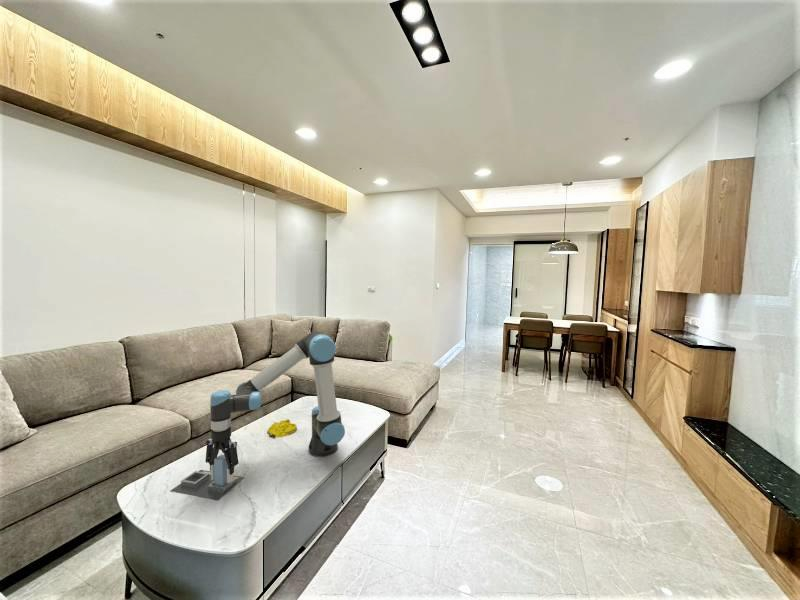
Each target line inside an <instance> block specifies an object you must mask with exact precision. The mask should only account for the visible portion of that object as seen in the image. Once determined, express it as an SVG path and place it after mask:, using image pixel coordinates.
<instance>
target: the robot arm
mask: <svg viewBox="0 0 800 600" xmlns="http://www.w3.org/2000/svg"><path fill="white" fill-rule="evenodd" d="M335 354H336V343H335V342H334V340H333V339H332V337H330V336H329V335H326V334H324V333H323V332H321V331H312V332H310V333H308V334H306V335H304V337H303V338H301V339H300V340H298V341H297V342H296V343H295V344H294V346H293V348H291V349H290V350H288V351H287V352H285V353H284V354H283V355H281V356H280V357H278V359H276V360H274V361H273V362H272V363H270V364H269V365H268V366H267V367H265V368H264V369H262V370H261V371H260V372H258V373H257V374H256V375H254V376H252V378H250V379H249V380H247V381H246V382H241V383H240V384H239V385H238V386H237V387H236V391H235V394H231V391H230V390H217V391H215V392H213V393H211V395H210V403H209V404H210V429H211V430H210V438H209V439H207V440H206V441H205V443H206V444H205V445H206V450H205V452H206V453H205V463H206V464H207V463H208V465H209V471H211V480H214V479H215V471H214V459H215V458H217V457H218V456H219V452H220V451H221V453H222V454H223V455H225V458H226V461H227V464H228V467H227V483H229V482H230V481H232V480H233V475H234V473H235V467H236V466H237V465H238V464H239V457H238V456H239V455H238V450H237V448H238V447H237V446H238V442H237V441H232V439H231V436H232V414H234V413H239V412H240V413H241V412H247V411H253V410H258V409H260V408H261V405H262V396H261V392H262V391H263V390H264V389H265V388H266V387H268V386H270V384H272V383H274V381H276V380H277V379H279V378H280V377H281V376H282V375H284V374H285V373H287V372H288V371H290V369H292V368H294V366H296V365H298V363H300V362H301V361H303V360H305V359H306V360H307V359H309V360H308V361H309V365H310V366H312V367H313V373H314V374H313V375H314V381H315V388H316V389H315V390H316V397H317V405H318V406H314V407H313V408H312V410H311V438H310V441H309V444H308V453H309V454H310V455H312V456H314V457H326V456H330V455H333V454H334V453H335V452H337V450H338V448H339V447H338V444H339V443H340V442H341V441H342V440H343V439H344V437H345V434H346V429H345V426H344V425H343V422H342V414H341V411H340V410H338V408H337V400H336V399H337V398H336V391H335V390H336V389H335V382H334V381H335V380H334V373H333V366H332V364H333V363H334V362H335Z"/></svg>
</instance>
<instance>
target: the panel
mask: <svg viewBox="0 0 800 600" xmlns="http://www.w3.org/2000/svg"><path fill="white" fill-rule="evenodd" d="M245 478H246V477H245V476H241V475H240V476H239V475H234V474H233V480H232V481H230V482H229V483H227V484H226V485H225V486H224V487H220V486H215V479H214V480H211V471H210V470H204V469H200V470H198V471H197V470H195V471H194V472H193V471H192V473H190V474H189V475H188V476H186V477H185V478H182V479H181V480H180V484H178V485H176V486H175V487H173V488H172V489H170V492H171V493H177V494H182V495H187V496H191V497H192V496H193V497H198V498H203V499H208V500H212V501H219V500H220V499H222V498H223V497H224V496H225V495H226V494H228V493H229V492H230V491H231V490H232V489H233V488H234V487H236V486H237V485H238V484H239V483H241V481H244V479H245Z"/></svg>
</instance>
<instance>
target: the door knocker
mask: <svg viewBox="0 0 800 600" xmlns="http://www.w3.org/2000/svg"><path fill="white" fill-rule="evenodd" d="M296 431H297V424H296V423H291V421H290V419H285V420H280V421H279V422H276V421H275V422H273V424H272V425H270V426H269V428H268V429H267V430H266V433H267V434H269V436H274V439H277V438H284V437H287V436H290V435H292V434H293V433H294V434H295V432H296Z"/></svg>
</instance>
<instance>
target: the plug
mask: <svg viewBox="0 0 800 600" xmlns="http://www.w3.org/2000/svg"><path fill="white" fill-rule="evenodd" d="M227 467H228V464H227V461H226V458H225V455H224V453H222V454H219V455H217V458H215V459H214V471H215V486H220V487H224V486H225V485H226V484H227Z"/></svg>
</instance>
